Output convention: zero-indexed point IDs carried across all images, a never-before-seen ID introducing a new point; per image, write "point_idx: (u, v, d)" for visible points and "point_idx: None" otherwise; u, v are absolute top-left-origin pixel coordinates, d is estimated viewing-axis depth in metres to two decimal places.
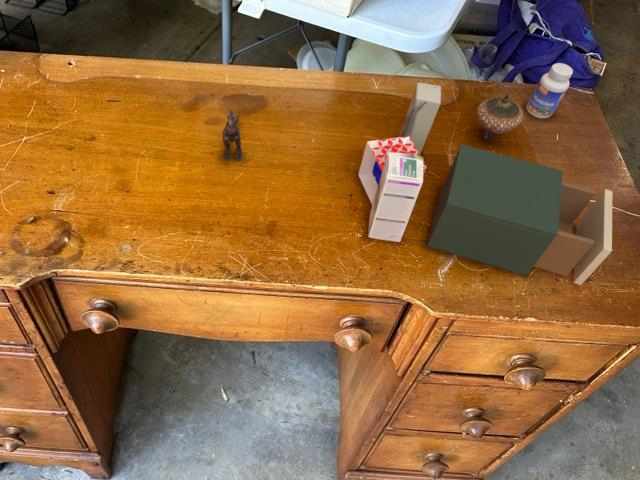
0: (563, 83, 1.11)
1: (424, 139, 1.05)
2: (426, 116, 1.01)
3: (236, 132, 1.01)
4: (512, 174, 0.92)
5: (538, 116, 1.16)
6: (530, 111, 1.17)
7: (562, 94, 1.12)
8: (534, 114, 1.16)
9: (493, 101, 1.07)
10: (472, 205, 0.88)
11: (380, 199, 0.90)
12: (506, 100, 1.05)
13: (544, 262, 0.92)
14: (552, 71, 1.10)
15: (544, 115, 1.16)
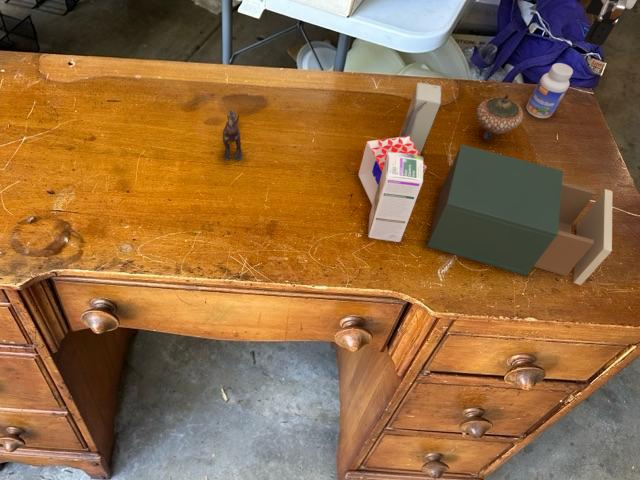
0: (563, 83, 1.11)
1: (424, 139, 1.05)
2: (426, 116, 1.01)
3: (236, 132, 1.01)
4: (512, 174, 0.92)
5: (538, 116, 1.16)
6: (530, 111, 1.17)
7: (562, 94, 1.12)
8: (534, 114, 1.16)
9: (493, 101, 1.07)
10: (472, 205, 0.88)
11: (380, 199, 0.90)
12: (506, 100, 1.05)
13: (544, 262, 0.92)
14: (552, 71, 1.10)
15: (544, 115, 1.16)
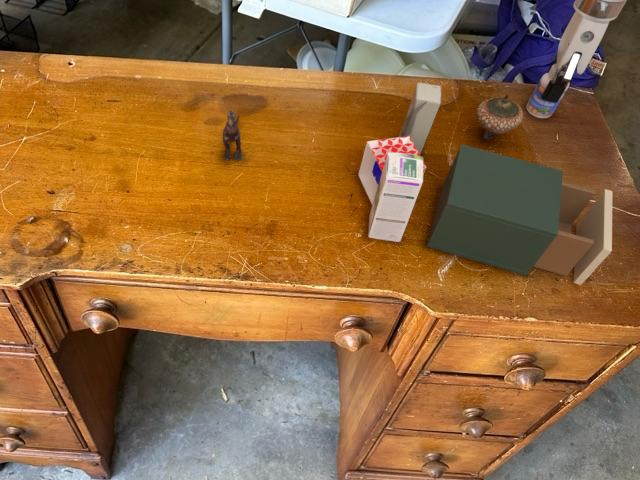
0: None
1: (424, 139, 1.05)
2: (426, 116, 1.01)
3: (236, 132, 1.01)
4: (512, 174, 0.92)
5: (538, 116, 1.16)
6: (530, 111, 1.17)
7: (562, 94, 1.12)
8: (534, 114, 1.16)
9: (493, 101, 1.07)
10: (472, 205, 0.88)
11: (380, 199, 0.90)
12: (506, 100, 1.05)
13: (544, 262, 0.92)
14: (552, 71, 1.10)
15: (544, 115, 1.16)
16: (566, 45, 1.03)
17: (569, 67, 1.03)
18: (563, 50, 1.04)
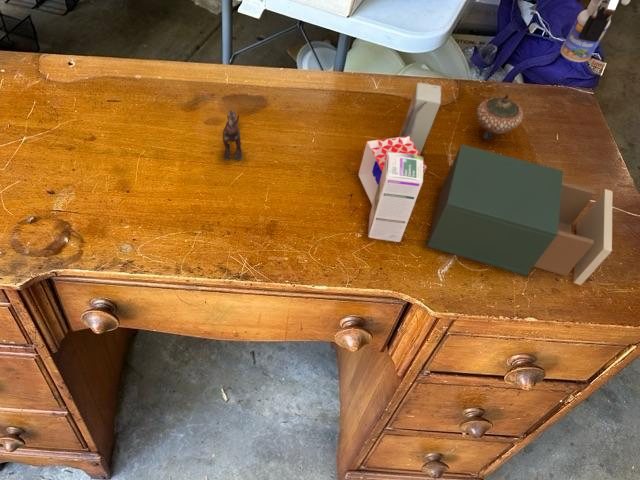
0: None
1: (424, 139, 1.05)
2: (426, 116, 1.01)
3: (236, 132, 1.01)
4: (512, 174, 0.92)
5: (574, 60, 1.04)
6: (565, 55, 1.05)
7: None
8: (570, 58, 1.05)
9: (493, 101, 1.07)
10: (472, 205, 0.88)
11: (380, 199, 0.90)
12: (506, 100, 1.05)
13: (544, 262, 0.92)
14: (591, 6, 0.98)
15: (581, 58, 1.04)
16: None
17: None
18: None
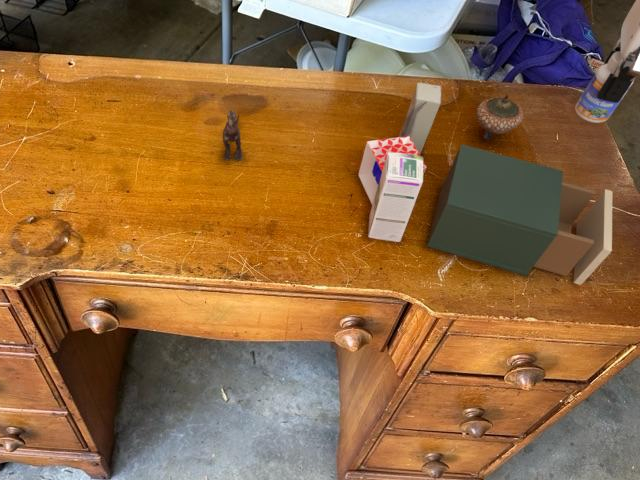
0: None
1: (424, 139, 1.05)
2: (426, 116, 1.01)
3: (236, 132, 1.01)
4: (512, 174, 0.92)
5: (591, 120, 0.91)
6: (580, 114, 0.91)
7: (625, 92, 0.86)
8: (586, 117, 0.91)
9: (493, 101, 1.07)
10: (472, 205, 0.88)
11: (380, 199, 0.90)
12: (506, 100, 1.05)
13: (544, 262, 0.92)
14: (613, 61, 0.84)
15: (599, 119, 0.90)
16: (636, 26, 0.78)
17: (639, 55, 0.78)
18: (631, 33, 0.78)
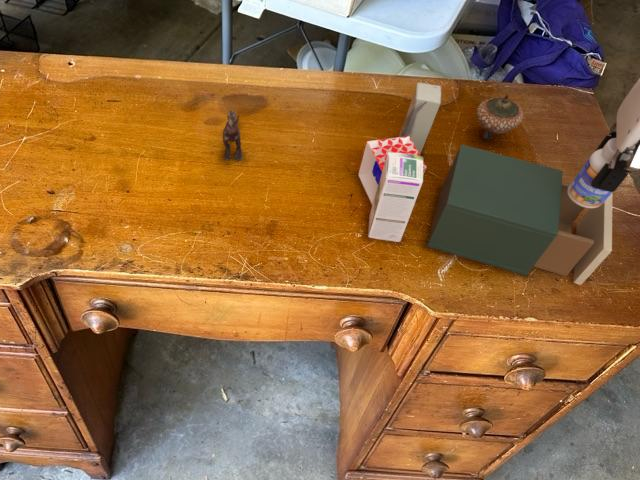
0: None
1: (424, 139, 1.05)
2: (426, 116, 1.01)
3: (236, 132, 1.01)
4: (512, 174, 0.92)
5: (584, 206, 0.85)
6: (573, 198, 0.86)
7: None
8: (579, 203, 0.85)
9: (493, 101, 1.07)
10: (472, 205, 0.88)
11: (380, 199, 0.90)
12: (506, 100, 1.05)
13: (544, 262, 0.92)
14: (608, 150, 0.79)
15: (593, 205, 0.85)
16: (633, 121, 0.72)
17: (637, 152, 0.72)
18: (629, 127, 0.73)
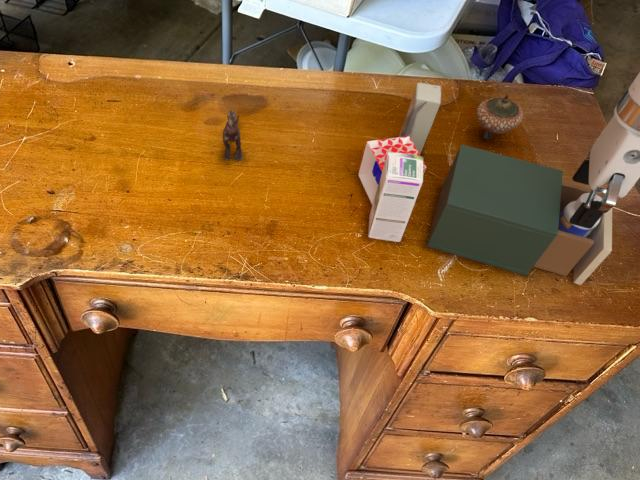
0: None
1: (424, 139, 1.05)
2: (426, 116, 1.01)
3: (236, 132, 1.01)
4: (512, 174, 0.92)
5: None
6: None
7: (588, 231, 0.89)
8: None
9: (493, 101, 1.07)
10: (472, 205, 0.88)
11: (380, 199, 0.90)
12: (506, 100, 1.05)
13: (544, 262, 0.92)
14: (579, 203, 0.88)
15: None
16: (603, 162, 0.78)
17: (611, 188, 0.77)
18: (599, 168, 0.79)
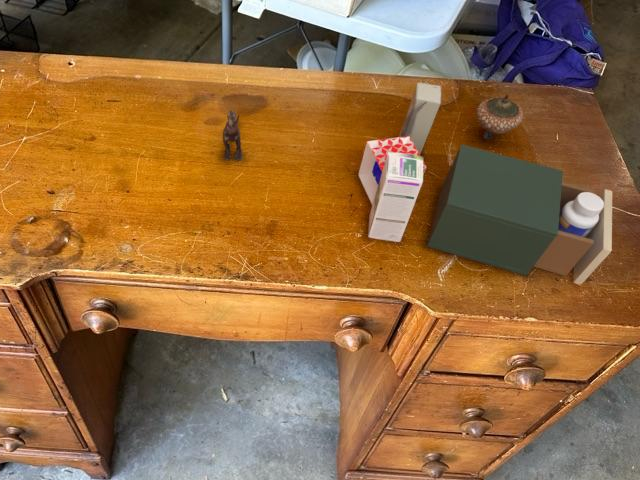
0: (589, 218, 0.88)
1: (424, 139, 1.05)
2: (426, 116, 1.01)
3: (236, 132, 1.01)
4: (512, 174, 0.92)
5: None
6: None
7: (587, 230, 0.89)
8: None
9: (493, 101, 1.07)
10: (472, 205, 0.88)
11: (380, 199, 0.90)
12: (506, 100, 1.05)
13: (544, 262, 0.92)
14: (577, 202, 0.88)
15: None
16: None
17: None
18: None
